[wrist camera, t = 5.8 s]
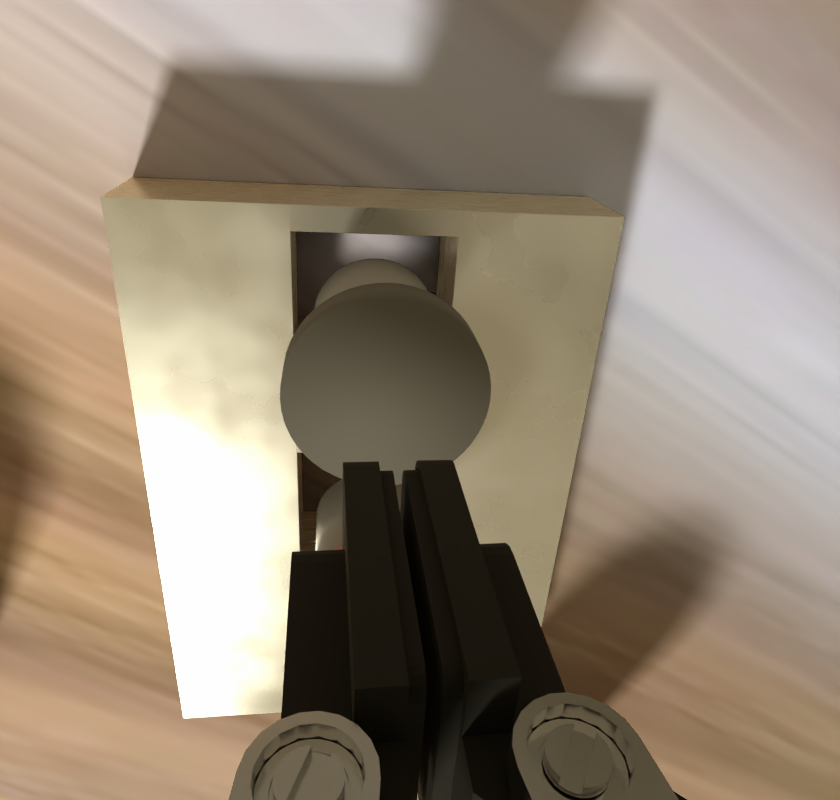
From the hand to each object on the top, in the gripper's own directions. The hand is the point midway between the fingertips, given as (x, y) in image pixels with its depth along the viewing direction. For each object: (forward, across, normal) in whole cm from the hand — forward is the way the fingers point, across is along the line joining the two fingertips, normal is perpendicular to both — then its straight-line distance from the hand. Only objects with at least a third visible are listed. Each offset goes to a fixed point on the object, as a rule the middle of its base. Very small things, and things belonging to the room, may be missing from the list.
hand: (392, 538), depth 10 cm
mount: (+13, 0, +7) cm, 15 cm away
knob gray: (+10, 0, 0) cm, 10 cm away
